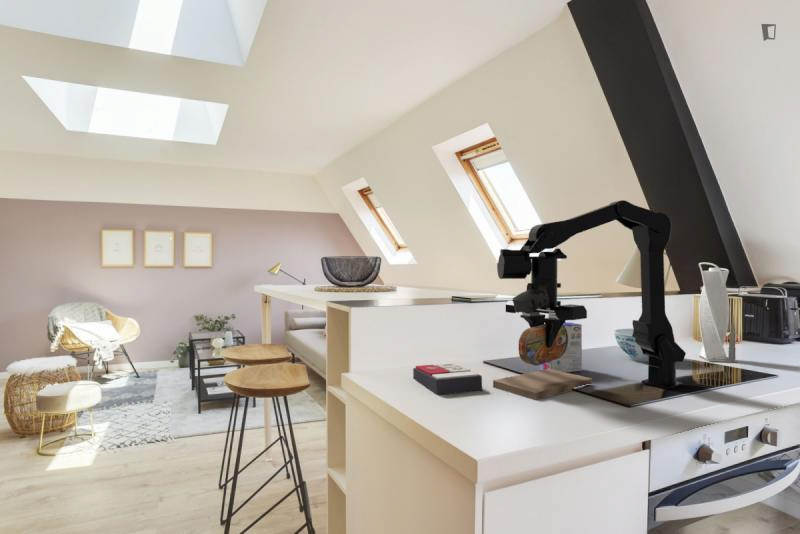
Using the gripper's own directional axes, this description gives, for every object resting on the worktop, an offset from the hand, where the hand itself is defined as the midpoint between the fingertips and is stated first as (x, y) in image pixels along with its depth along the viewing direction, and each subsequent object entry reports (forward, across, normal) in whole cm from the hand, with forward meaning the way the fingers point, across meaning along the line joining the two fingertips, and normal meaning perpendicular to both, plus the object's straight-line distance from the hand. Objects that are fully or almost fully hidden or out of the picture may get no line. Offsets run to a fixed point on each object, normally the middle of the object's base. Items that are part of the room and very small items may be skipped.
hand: (543, 346), depth 112 cm
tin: (+4, 0, 0) cm, 4 cm away
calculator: (+10, -14, -17) cm, 24 cm away
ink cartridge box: (+9, -7, +16) cm, 20 cm away
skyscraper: (+10, +10, +64) cm, 65 cm away
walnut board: (+9, 0, 0) cm, 9 cm away
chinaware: (+10, -2, +47) cm, 48 cm away
